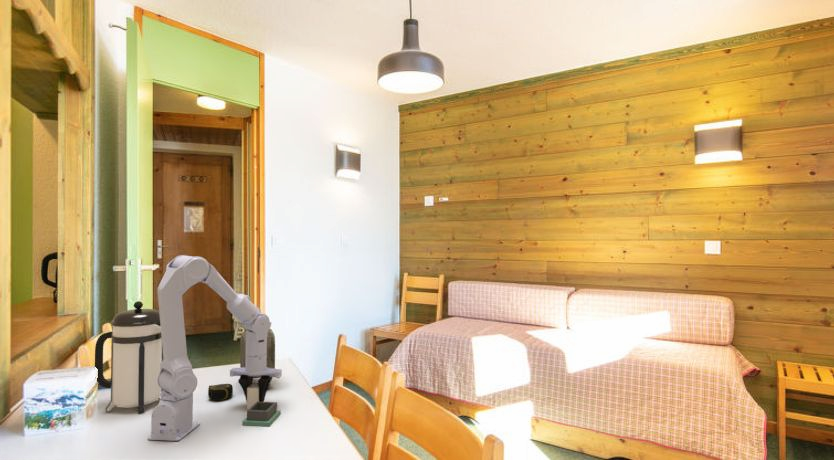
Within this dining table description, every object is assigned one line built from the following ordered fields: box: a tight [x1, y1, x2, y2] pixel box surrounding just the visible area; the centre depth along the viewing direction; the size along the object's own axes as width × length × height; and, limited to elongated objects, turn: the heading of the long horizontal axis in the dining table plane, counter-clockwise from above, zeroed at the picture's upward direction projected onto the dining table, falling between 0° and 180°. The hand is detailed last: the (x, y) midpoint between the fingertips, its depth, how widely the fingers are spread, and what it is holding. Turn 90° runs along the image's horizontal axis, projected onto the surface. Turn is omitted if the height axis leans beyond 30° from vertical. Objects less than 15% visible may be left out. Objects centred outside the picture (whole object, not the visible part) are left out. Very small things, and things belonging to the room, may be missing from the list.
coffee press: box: [94, 300, 164, 415], centre depth 128 cm, size 17×16×30 cm
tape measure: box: [207, 383, 234, 401], centre depth 135 cm, size 7×7×4 cm
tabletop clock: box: [239, 311, 276, 390], centre depth 146 cm, size 14×9×25 cm, turn 27°
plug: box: [246, 382, 265, 410], centre depth 128 cm, size 4×3×7 cm
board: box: [241, 401, 282, 427], centre depth 120 cm, size 8×7×4 cm
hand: (255, 401), depth 128 cm, fingers closed on plug, 3 cm apart
